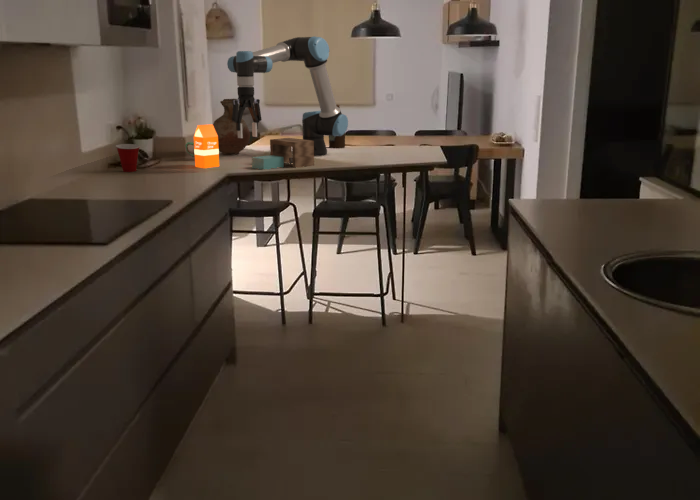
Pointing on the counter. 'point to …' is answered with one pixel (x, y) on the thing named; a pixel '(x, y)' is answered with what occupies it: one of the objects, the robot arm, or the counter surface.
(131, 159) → the plastic cup
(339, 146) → the olive oil
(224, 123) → the jug
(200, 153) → the orange juice
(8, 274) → the counter surface
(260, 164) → the teal rectangular block
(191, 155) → the mug
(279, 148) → the shelf
